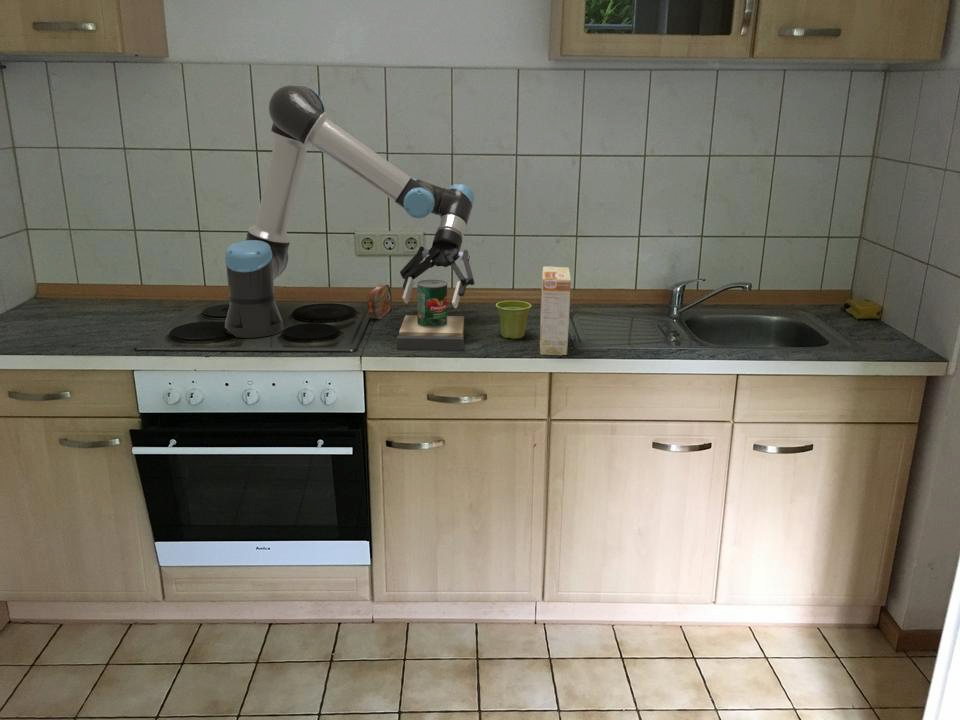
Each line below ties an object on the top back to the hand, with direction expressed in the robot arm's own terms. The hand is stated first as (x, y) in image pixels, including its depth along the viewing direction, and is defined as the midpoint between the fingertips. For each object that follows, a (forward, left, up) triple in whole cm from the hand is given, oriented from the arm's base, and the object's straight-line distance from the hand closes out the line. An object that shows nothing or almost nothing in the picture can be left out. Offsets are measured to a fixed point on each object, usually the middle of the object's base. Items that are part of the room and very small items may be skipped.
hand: (429, 303), depth 201 cm
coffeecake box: (+15, +29, -10) cm, 34 cm away
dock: (-2, +2, -10) cm, 10 cm away
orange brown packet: (-29, -5, -10) cm, 31 cm away
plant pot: (+3, +23, -10) cm, 25 cm away
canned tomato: (-2, +1, -6) cm, 7 cm away
